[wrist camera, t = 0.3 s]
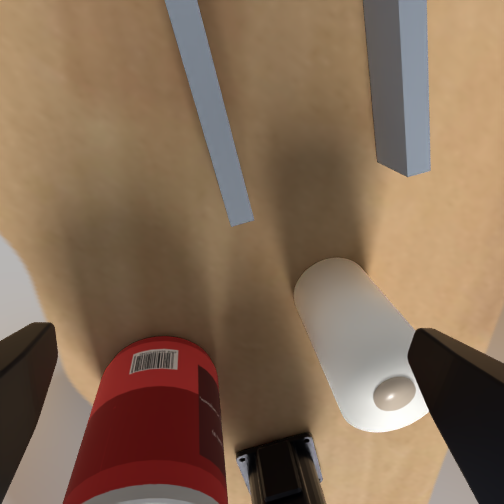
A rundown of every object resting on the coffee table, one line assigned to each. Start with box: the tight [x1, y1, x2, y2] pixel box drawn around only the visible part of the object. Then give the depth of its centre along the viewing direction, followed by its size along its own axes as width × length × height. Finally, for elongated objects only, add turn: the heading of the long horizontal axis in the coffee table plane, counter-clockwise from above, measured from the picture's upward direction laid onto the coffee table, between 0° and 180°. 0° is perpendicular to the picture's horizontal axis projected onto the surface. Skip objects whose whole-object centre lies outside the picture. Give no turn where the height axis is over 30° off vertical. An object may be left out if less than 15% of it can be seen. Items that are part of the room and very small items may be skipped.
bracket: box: [165, 0, 431, 227], centre depth 17 cm, size 12×10×4 cm
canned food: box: [63, 336, 228, 504], centre depth 22 cm, size 8×8×11 cm
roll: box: [294, 258, 429, 432], centre depth 21 cm, size 5×5×9 cm
